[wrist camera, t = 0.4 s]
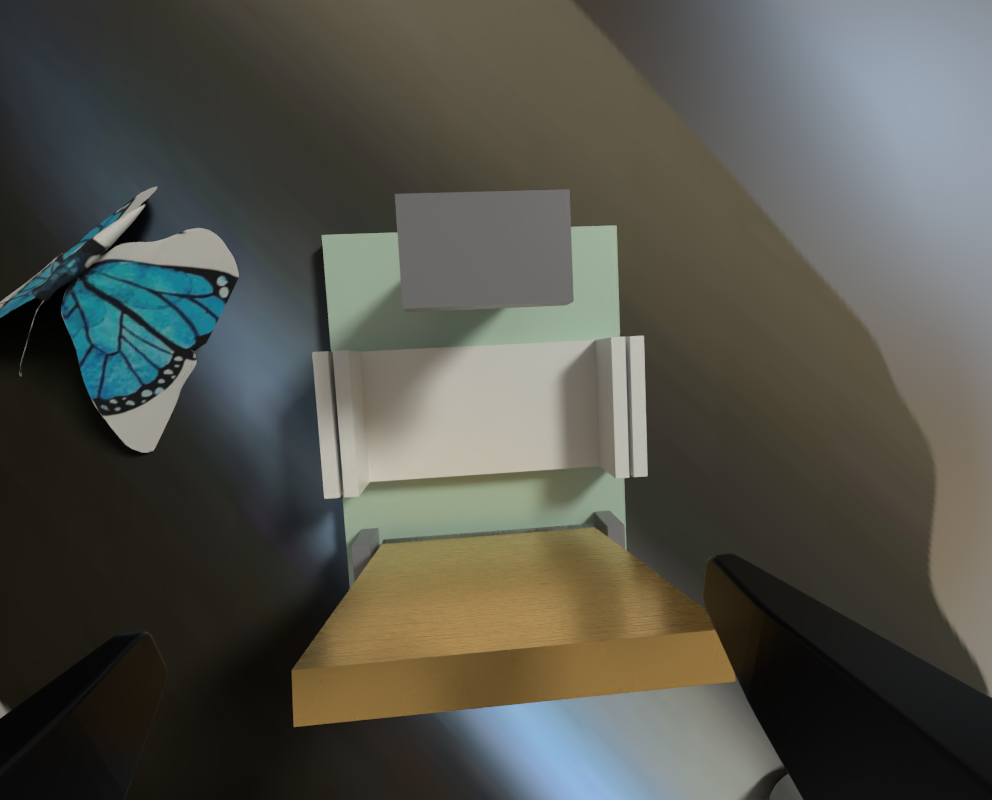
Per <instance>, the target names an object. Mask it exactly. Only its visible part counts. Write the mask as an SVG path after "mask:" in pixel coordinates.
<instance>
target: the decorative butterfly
mask: <svg viewBox="0 0 992 800" xmlns="http://www.w3.org/2000/svg"><path fill="white" fill-rule="evenodd" d="M156 189H157V187H153V188H150V189H148V190H146V191H144V192H142V193H140V194H139V195H137V196H136V197H135V198H133V199H132V200H131V201H129V202H128V203H127V204H125V205H124V206H123V207H121V208H120V209H119V210H117V211H116V212H115V213H114V214H112V215H111V216H110V217H109V218H107V219H106V220H105V221H103V222H102V223H101V224H100V225H98V226H97V227H96V228H94V229H93V230H92V231H91V232H89V233H88V234H87V235H86V236H84V237H83V238H82V239H81V240H80V241H78V242H77V243H76V244H75V245H74V246H73V247H72V248H71V249H70V250H69V251H67V252H66V253H62V254H61V255H59V256H58V257H56V258H55V259H54V260H53V261H52V262H51V263H50V264H48V265H47V266H46V267H45V268H44V269H43V270H42V271H40V272H39V273H38V274H37V275H35V276H34V277H33V278H32V279H30V280H29V281H28V282H26V283H25V284H24V285H22V286H21V287H20V288H18V289H17V290H16V291H14V292H13V293H12V294H10V295H9V296H8V297H6V298H5V299H4V300H2V301H1V302H0V318H1V317H2V316H4V315H6V314H8V313H9V312H11V311H12V310H14V309H16V308H17V307H19V306H21V305H23V304H24V303H26V302H28V301H30V300H32V299H34V298H36V297H37V298H38V299H40V300H42V301H43V302H44V301H48V300H49V299H50V298H51V296H52V295H53V293H54V292H55V291H56V290H57V289H59V288H60V287H62V286H64V285H66V284H67V283H69V282H71V283H70V284H69V286H68V287H67V289H66V292H65V294H64V298H63V301H62V305H61V314H62V318H63V320H64V323H65V325H66V327H67V329H68V331H69V334H70V336H71V338H72V341H73V343H74V346H75V349H76V353H77V357H78V362H79V366H80V371H81V374H82V377H83V381H84V383H85V386H86V388H87V391H88V393H89V395H90V398H91V399H92V401H93V403H94V405H95V407H96V408H97V410H98V411H99V412H100V414H101V415H102V417H103V418H104V419H105V421H106V422H107V423H108V424H109V426H110V427H111V428H112V430H113V431H114V432H115V434H116V435H117V436H118V437H119V438H120V439H121V441H122V442H123V443H124V444H125V445H127V446H128V447H130V448H131V449H133V450H136V451H139V452H142V453H148V452H152V451H154V449H155V447H156V445H157V443H158V441H159V439H160V437H161V435H162V432H163V430H164V428H165V426H166V424H167V422H168V420H169V418H170V416H171V414H172V411H173V409H174V407H175V405H176V402H177V400H178V397H179V393H180V391H181V388H182V386H183V385H184V383H185V381H186V380H187V378H188V376H189V375H190V374H191V372H192V371H193V369H194V368H195V366H196V355H195V353H194V352H193V351H192V349H193V348H196V347H198V346H201V345H203V344H205V343H206V342H207V340H208V339H209V337H210V335H211V333H212V331H213V329H214V327H215V325H216V323H217V321H218V319H219V317H220V315H221V313H222V311H223V309H224V307H225V305H226V303H227V301H228V299H229V297H230V294H231V292H232V290H233V288H234V286H235V284H236V282H237V280H238V278H239V274H238V269H237V265H236V263H235V260H234V257H233V255H232V254H231V252H230V251H229V249H228V248H227V246H226V245H225V243H224V242H223V241H222V240H221V239H220V237H219V236H218V235H216V234H215V233H213V232H212V231H210V230H207V229H202V228H195V229H188V230H185V231H183V232H180V233H178V234H175V235H173V236H171V237H169V238H165V239H162V240H159V241H154V242H130V243H122V244H119V245H117V246H116V247H114V248H112V249H111V250H109V251H108V252H107V253H105V252H106V251H107V250H108V249H109V247H110V246H111V245H112V244H113V243H114V242H115V241H116V240H117V239H118V238H119V237H120V236H121V235H122V234H123V233H124V231H125V230H126V229H127V228H128V227H129V226H130V225H131V224H132V222H133V221H134V220H135V219H136V218H137V216H138V215H139V214H140V213H141V211H142V210H143V209H144V207H145V205H146V204H144V205H142V206H140V205H141V204H142V203H143V202H145V201H146V200H147V199H148V198H149V197H150V196H151V195H152V194H153V193H154V192H155V190H156ZM139 206H140V207H139ZM104 253H105V254H104ZM103 254H104V255H103ZM100 256H101V257H100ZM43 302H42V303H43ZM42 303H41V304H42ZM41 304H40V305H39V306H38V308H37V310H36V312H35V315H34V318H33V321H32V324H31V327H30V331H31V328H32V325H33V322H34V319H35V316H36V313H37V311H38V309H39V307H40V306H41ZM30 331H29V334H28V338H27V342H26V346H25V350H26V347H27V343H28V339H29V335H30ZM25 350H24V353H23V356H22V359H21V363H20V377H22V376H23V374H22V370H21V364H22V360H23V357H24V354H25Z"/></svg>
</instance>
